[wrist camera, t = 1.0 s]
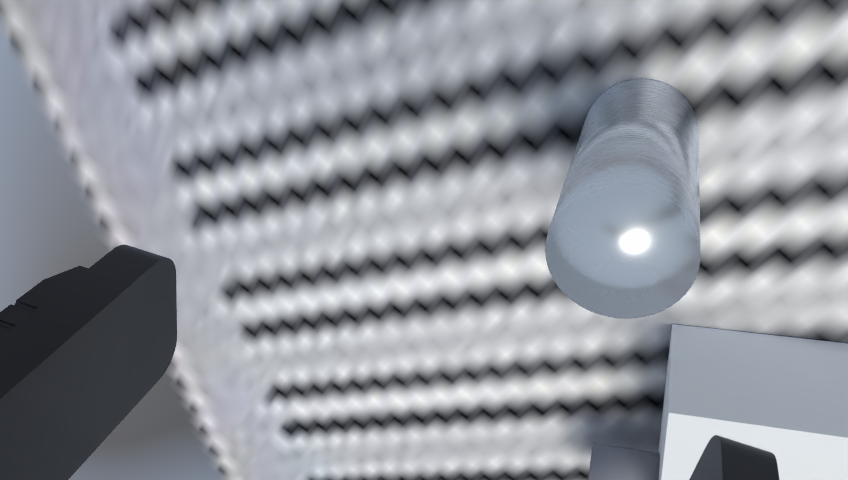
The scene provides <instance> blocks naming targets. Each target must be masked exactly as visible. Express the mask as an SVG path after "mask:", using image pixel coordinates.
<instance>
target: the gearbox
mask: <svg viewBox="0 0 848 480" xmlns="http://www.w3.org/2000/svg"><path fill="white" fill-rule="evenodd" d="M714 435H718V436H721V437H725V438H728V439H731V440H734V441H737V442H740V443H743V444H746V445H750V446H753V447H756V448H759V449H762V450H765V451H768V452H771V453H773V454H774V455H775V457H776V460H777V465H778V473H779V480H848V343H839V342H830V341H821V340H812V339H803V338H794V337H785V336H776V335H767V334H757V333H748V332H739V331H730V330H721V329H712V328H703V327H694V326H685V325H675V324H672V329H671V339H670V348H669V357H668V366H667V376H666V385H665V394H664V403H663V413H662V422H661V431H660V440H659V450H658V453H654V452H648V451H641V450H635V449H628V448H622V447H615V446H609V445H603V444H596V443H594V444H593V448H592V455H591V462H590V471H589V480H689V479H690V477H691V475H692V473H693V471H694V469H695V467H696V465H697V463H698V461H699V459H700V457H701V455H702V453H703V451H704V449H705V447H706V445H707V444H708V442H709V440H710V439H711V438H712V437H713V436H714Z"/></svg>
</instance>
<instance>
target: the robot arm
mask: <svg viewBox="0 0 848 480" xmlns="http://www.w3.org/2000/svg"><path fill="white" fill-rule="evenodd" d="M176 342H177V308H176V269H175V265H174V263H173V261H172V260H171V259H169V258H166V257H163V256H159V255H156V254H153V253H150V252H147V251H144V250H141V249H138V248H134V247H131V246H128V245H120V246H118V247H116V248H114V249H113V250H112V251H110V252H109V253H108V254H106V255H105V256H104V257H103V258H101V259H100V260H99V261H98V262H96V263H95V264H94V265H93V266H91V267H90V268H89V269H88V268H85V267H82V266H78V267H75V268H73V269H70V270H68V271H65V272H63V273H60V274H57V275H55V276H52V277H50V278H47V279H44V280H43V281H42V282H40V283H39V284H37V285H36V286H35V287H33V288H32V289H31V290H29V291H28V292H27V293H25V294H24V295H23V296H21V297H20V298H19V299H17V300H16V303H15V305H9V306H8V307H7V308H5V309H4V310H3V311H1V312H0V480H68V479H69V478H70V477H71V476H72V475H73V474H74V473H75V472H76V470H77V469H78V468H79V467H80V466H81V465H82V464H83V463H84V462H85V461H86V460H87V458H88V457H89V456H90V455H91V454H92V453H93V452H94V451H95V450H96V448H97V447H98V446H99V445H100V444H101V443H102V442H103V441H104V440H105V439H106V437H107V436H108V435H109V434H110V433H111V432H112V431H113V430H114V429H115V428H116V427H117V425H118V424H119V423H120V422H121V421H122V420H123V419H124V418H125V417H126V416H127V414H128V413H129V412H130V411H131V410H132V409H133V408H134V407H135V406H136V405H137V403H138V402H139V401H140V400H141V399H142V398H143V397H144V396H145V395H146V394H147V392H148V391H149V390H150V389H151V388H152V387H153V386H154V385H155V384H156V383H157V381H158V380H159V379H160V378H161V377H162V376H163V374H164V373H165V371H166V370H167V368H168V366H169V364H170V362H171V360H172V357H173V354H174V351H175V347H176ZM689 480H779V473H778V465H777V460H776V457H775V455H774V454H773V453H771V452H768V451H765V450H762V449H759V448H756V447H753V446H750V445H746V444H743V443H740V442H737V441H734V440H731V439H728V438H725V437H721V436H718V435H714V436H713V437H712V438H711V439H710V440H709V442H708V444H707V445H706V447H705V449H704V451H703V453H702V455H701V457H700V459H699V461H698V463H697V465H696V467H695V469H694V471H693V473H692V475H691V477H690V479H689Z"/></svg>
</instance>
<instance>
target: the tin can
mask: <svg viewBox="0 0 848 480" xmlns="http://www.w3.org/2000/svg"><path fill="white" fill-rule="evenodd" d="M545 252H546V260H547V265H548V268H549V271H550V273H551V275H552V277H553V279H554V281H555V282H556V284H557V285H558V287H559V288H560V289H561V290H562V291H563V292H564V294H565V295H566V296H568V297H569V298H570V299H571V300H572V301H574V302H575V303H577V304H578V305H580V306H581V307H583V308H585V309H587V310H589V311H592V312H594V313H597V314H600V315H604V316H608V317H614V318H639V317H645V316H649V315H653V314H656V313H658V312H661V311H663V310H665V309H667V308H669V307H670V306H672V305H673V304H675V303H676V302H677V301H679V300H680V299H681V298H682V297H683V296H684V295H685V294H686V293H687V291H688V290H689V289H690V288H691V286H692V284H693V282H694V281H695V279H696V276H697V273H698V270H699V265H700V204H699V147H698V122H697V118H696V114H695V112H694V109H693V107H692V106H691V104H690V102H689V101H688V100H687V99H686V97H685V96H684V95H683V94H681V93H680V92H679V91H678V90H676V89H675V88H674V87H672V86H670V85H668V84H666V83H663V82H660V81H656V80H652V79H633V80H628V81H624V82H621V83H619V84H616V85H614V86H612V87H611V88H609V89H607V90H606V91H605V92H603V93H602V94H601V95H600V96H599V97H598V98H597V99H596V100H595V102H594V103H593V104H592V106H591V108H590V109H589V112H588V114H587V116H586V119H585V122H584V125H583V128H582V132H581V135H580V138H579V141H578V144H577V147H576V150H575V153H574V156H573V159H572V162H571V165H570V168H569V171H568V174H567V177H566V180H565V183H564V186H563V189H562V192H561V195H560V198H559V201H558V204H557V207H556V210H555V213H554V216H553V219H552V222H551V225H550V228H549V231H548V235H547V239H546V247H545Z"/></svg>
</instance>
